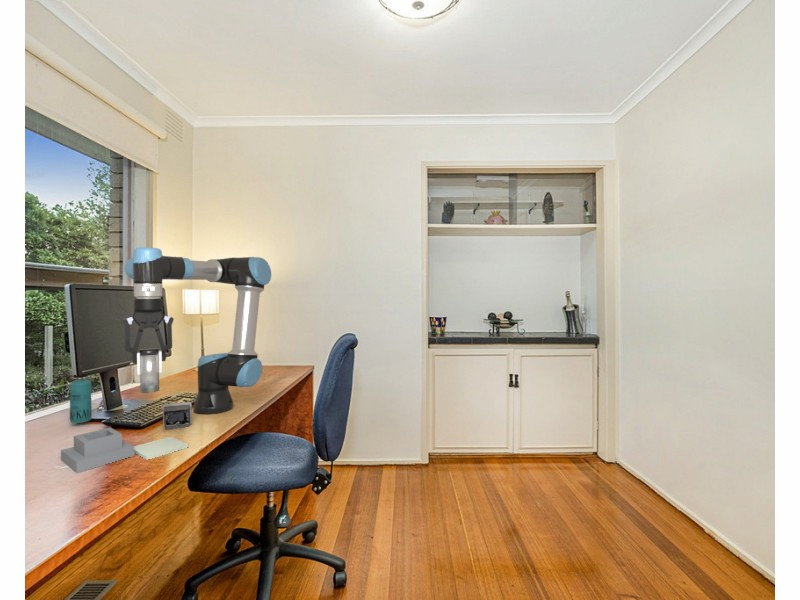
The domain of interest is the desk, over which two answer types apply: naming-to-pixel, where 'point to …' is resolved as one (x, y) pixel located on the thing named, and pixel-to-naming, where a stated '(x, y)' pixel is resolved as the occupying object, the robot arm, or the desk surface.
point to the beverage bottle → (80, 400)
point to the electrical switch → (177, 415)
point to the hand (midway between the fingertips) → (149, 372)
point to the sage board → (159, 447)
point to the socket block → (96, 450)
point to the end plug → (149, 370)
